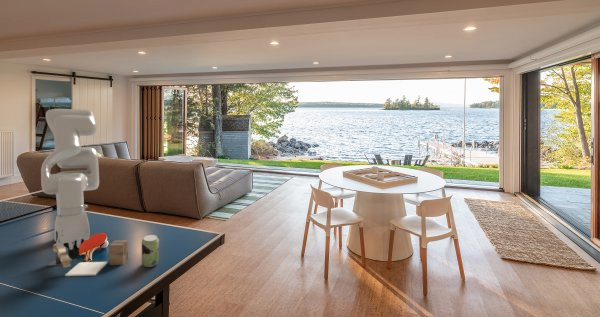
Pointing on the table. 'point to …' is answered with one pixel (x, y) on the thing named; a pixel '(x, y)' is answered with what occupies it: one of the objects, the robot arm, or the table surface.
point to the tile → (86, 269)
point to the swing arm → (61, 255)
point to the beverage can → (150, 250)
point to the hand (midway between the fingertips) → (74, 257)
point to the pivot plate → (56, 263)
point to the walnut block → (118, 252)
